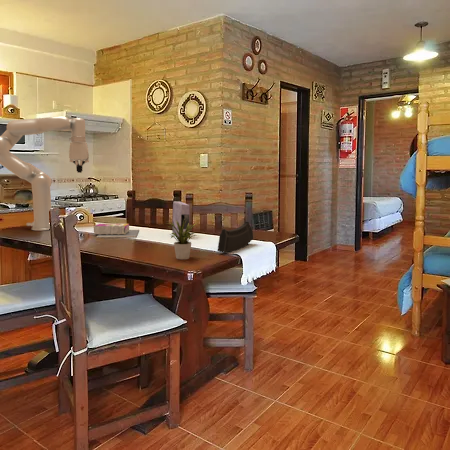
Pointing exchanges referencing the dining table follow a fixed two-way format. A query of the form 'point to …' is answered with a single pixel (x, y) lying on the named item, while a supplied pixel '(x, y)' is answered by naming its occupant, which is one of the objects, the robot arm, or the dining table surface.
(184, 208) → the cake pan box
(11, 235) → the dining table surface
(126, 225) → the candy bar box
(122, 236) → the mat
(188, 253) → the house plant
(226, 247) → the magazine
